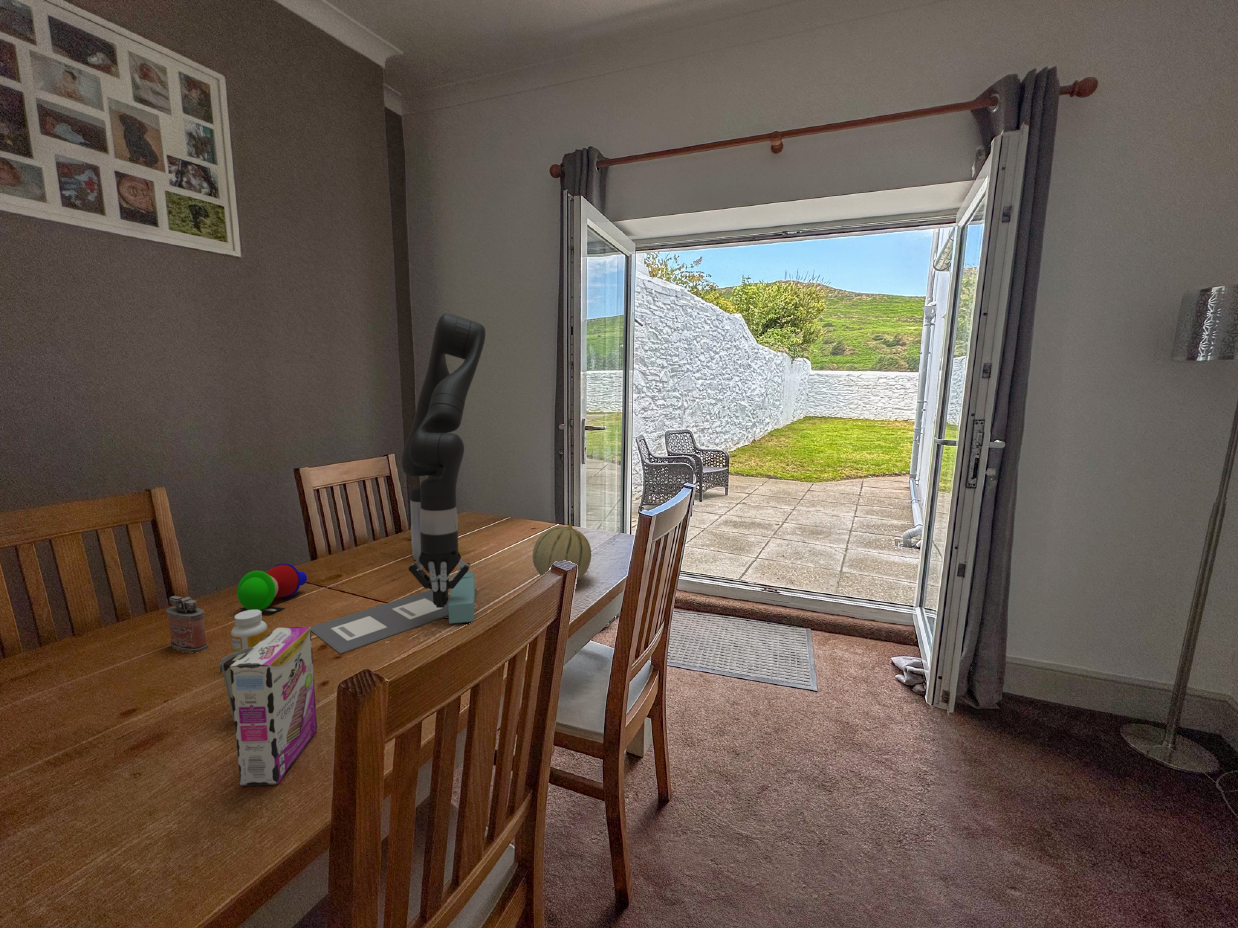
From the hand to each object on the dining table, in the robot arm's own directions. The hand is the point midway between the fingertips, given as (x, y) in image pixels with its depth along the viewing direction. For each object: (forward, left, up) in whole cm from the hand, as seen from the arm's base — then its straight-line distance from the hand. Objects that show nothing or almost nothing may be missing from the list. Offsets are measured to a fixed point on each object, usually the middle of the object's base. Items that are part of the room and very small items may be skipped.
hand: (441, 606), depth 116 cm
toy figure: (-36, -21, -3) cm, 42 cm away
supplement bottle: (-9, -33, -3) cm, 34 cm away
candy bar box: (+22, -38, -3) cm, 44 cm away
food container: (+10, -35, -3) cm, 36 cm away
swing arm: (-2, +7, -2) cm, 8 cm away
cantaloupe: (+3, +32, -3) cm, 33 cm away
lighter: (-25, -39, -3) cm, 46 cm away
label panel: (-9, -7, -3) cm, 11 cm away
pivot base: (-9, +11, -3) cm, 15 cm away
